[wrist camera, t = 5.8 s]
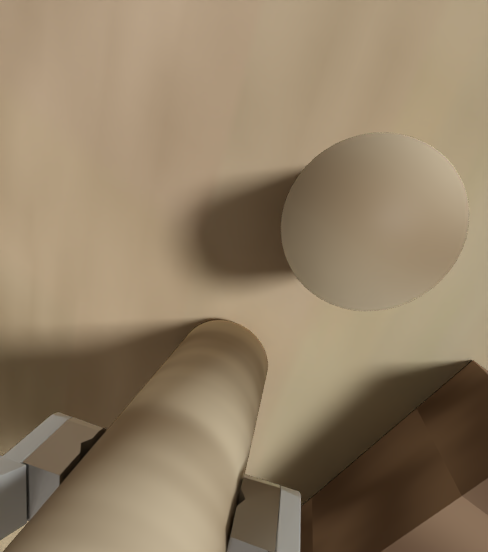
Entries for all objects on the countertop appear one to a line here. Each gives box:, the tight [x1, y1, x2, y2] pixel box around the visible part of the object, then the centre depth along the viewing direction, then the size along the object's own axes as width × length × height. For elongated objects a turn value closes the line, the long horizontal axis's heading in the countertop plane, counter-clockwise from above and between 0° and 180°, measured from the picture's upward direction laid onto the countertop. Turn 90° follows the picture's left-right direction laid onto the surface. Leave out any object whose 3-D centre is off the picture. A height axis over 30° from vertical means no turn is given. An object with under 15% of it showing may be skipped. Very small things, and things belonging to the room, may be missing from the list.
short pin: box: [281, 132, 469, 311], centre depth 9 cm, size 4×4×5 cm
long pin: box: [3, 320, 268, 552], centre depth 8 cm, size 4×4×12 cm
